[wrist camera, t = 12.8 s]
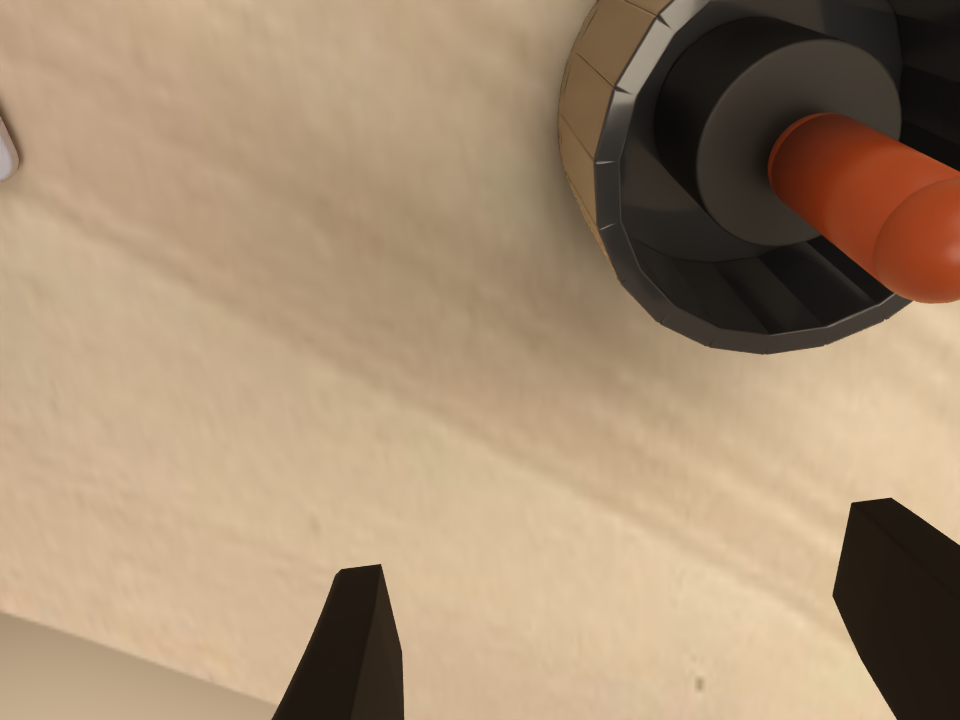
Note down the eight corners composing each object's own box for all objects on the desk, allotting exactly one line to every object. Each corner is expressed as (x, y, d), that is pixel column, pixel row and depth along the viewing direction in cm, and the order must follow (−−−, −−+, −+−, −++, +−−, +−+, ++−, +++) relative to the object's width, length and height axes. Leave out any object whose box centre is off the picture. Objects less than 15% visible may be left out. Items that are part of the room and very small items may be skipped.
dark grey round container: (569, 292, 20) (605, 380, 16) (542, -66, 15) (582, -54, 12) (882, 245, 20) (986, 322, 16) (942, -127, 15) (1101, -134, 12)
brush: (654, 210, 18) (811, 411, 11) (652, 31, 16) (845, 137, 9) (819, 185, 18) (1084, 371, 11) (839, 3, 16) (1181, 86, 9)
